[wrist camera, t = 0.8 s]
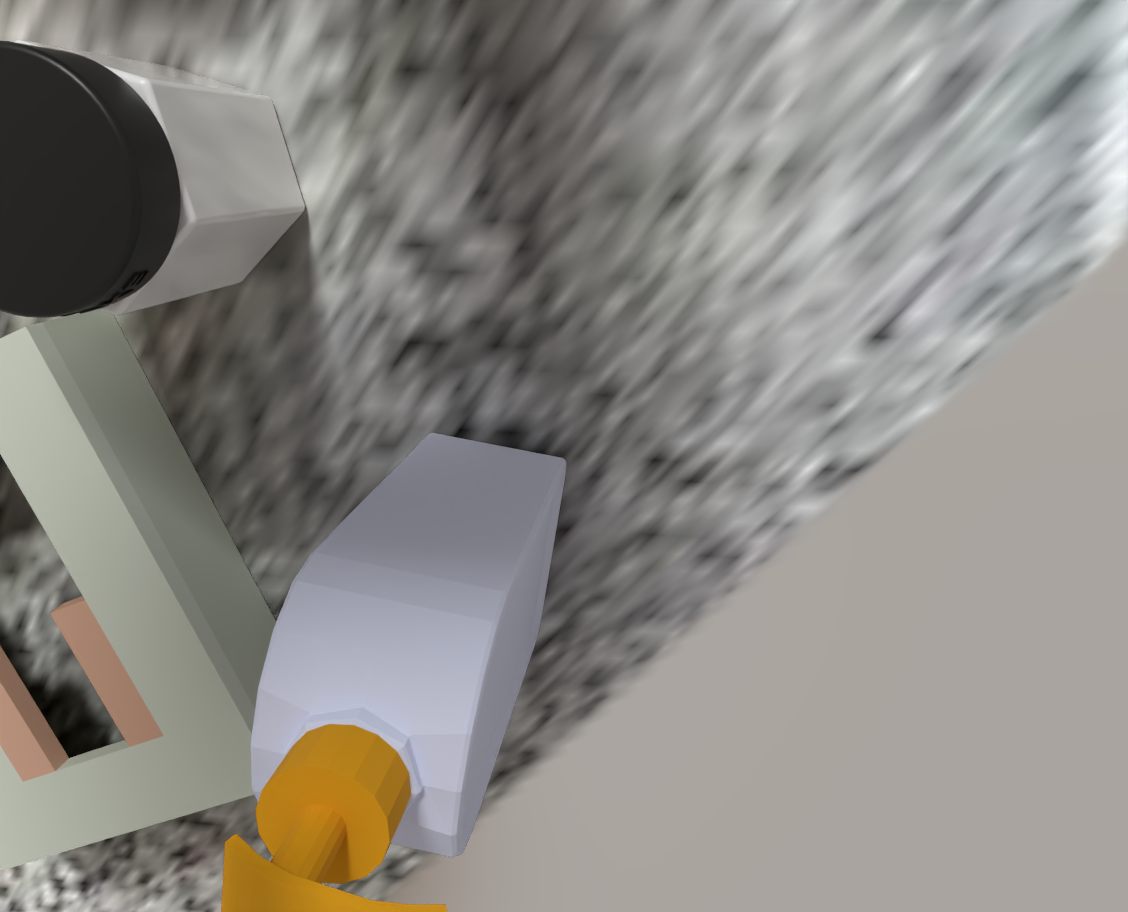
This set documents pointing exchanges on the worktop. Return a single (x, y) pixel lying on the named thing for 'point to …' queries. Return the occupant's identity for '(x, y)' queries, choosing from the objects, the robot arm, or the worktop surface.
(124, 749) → the keyhole box
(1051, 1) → the worktop surface
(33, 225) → the jar
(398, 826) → the soap bottle
